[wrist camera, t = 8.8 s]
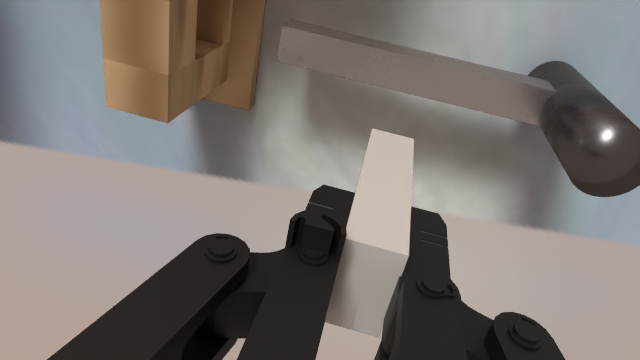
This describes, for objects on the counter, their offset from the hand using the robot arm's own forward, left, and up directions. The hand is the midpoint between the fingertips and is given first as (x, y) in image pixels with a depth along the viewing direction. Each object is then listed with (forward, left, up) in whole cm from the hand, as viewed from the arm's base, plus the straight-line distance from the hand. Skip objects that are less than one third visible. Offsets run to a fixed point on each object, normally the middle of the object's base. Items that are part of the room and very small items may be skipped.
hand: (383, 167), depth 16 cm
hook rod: (+2, 0, -19) cm, 19 cm away
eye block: (-15, 0, -19) cm, 24 cm away
